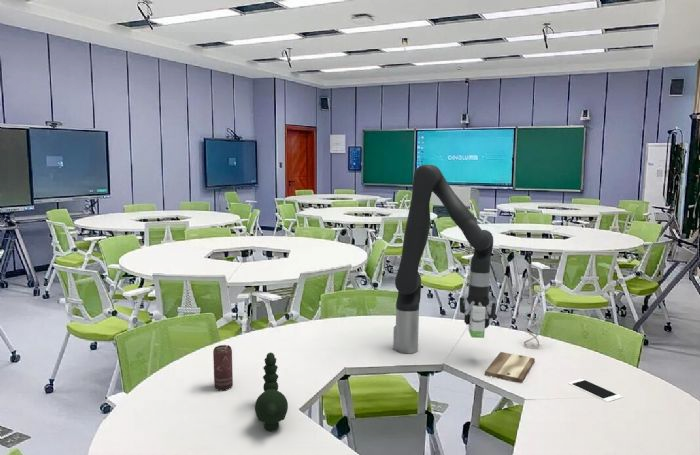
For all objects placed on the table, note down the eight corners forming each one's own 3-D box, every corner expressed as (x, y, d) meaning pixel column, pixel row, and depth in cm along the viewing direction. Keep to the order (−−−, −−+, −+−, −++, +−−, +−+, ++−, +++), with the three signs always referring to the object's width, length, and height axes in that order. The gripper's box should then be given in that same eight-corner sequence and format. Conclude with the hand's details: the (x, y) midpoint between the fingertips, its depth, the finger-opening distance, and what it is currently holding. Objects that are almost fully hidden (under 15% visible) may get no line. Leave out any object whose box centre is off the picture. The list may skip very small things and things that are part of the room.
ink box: (484, 338, 198) (486, 307, 196) (471, 337, 198) (472, 307, 197) (480, 330, 206) (482, 301, 205) (467, 330, 207) (469, 300, 205)
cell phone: (607, 403, 172) (607, 401, 172) (566, 384, 186) (567, 382, 186) (623, 398, 175) (623, 396, 175) (582, 379, 189) (582, 378, 189)
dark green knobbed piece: (256, 407, 170) (254, 442, 145) (255, 348, 169) (253, 374, 144) (285, 405, 171) (289, 439, 147) (285, 347, 170) (288, 372, 146)
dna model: (543, 347, 219) (547, 276, 215) (533, 350, 216) (537, 278, 212) (529, 342, 225) (533, 273, 221) (519, 345, 221) (523, 275, 217)
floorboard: (484, 375, 192) (484, 370, 191) (500, 355, 210) (500, 350, 210) (521, 383, 185) (521, 378, 185) (534, 362, 204) (534, 357, 204)
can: (236, 384, 182) (235, 345, 180) (226, 392, 176) (225, 351, 174) (221, 381, 184) (220, 343, 182) (210, 389, 178) (209, 349, 176)
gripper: (457, 282, 200) (455, 325, 202) (495, 288, 193) (492, 332, 195) (463, 278, 206) (461, 320, 209) (501, 284, 199) (498, 326, 201)
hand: (476, 325), depth 202 cm, fingers closed on ink box, 6 cm apart
